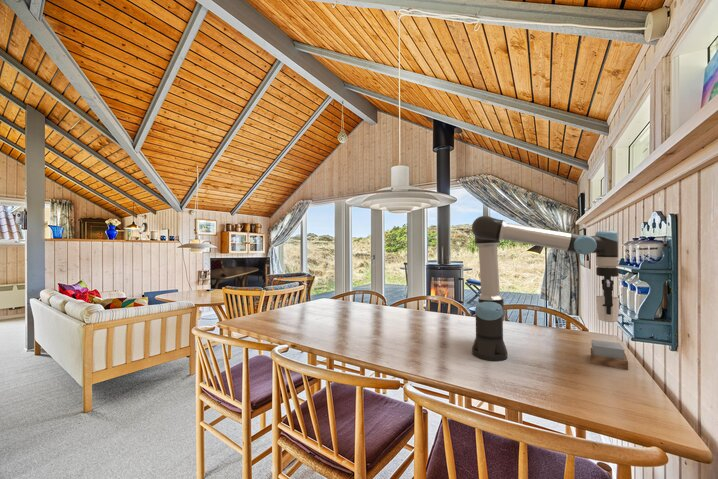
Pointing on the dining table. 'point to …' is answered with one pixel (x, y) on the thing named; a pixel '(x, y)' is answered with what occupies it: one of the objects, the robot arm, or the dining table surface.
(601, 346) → the slate top block
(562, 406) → the dining table surface
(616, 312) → the white cup
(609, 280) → the robot arm
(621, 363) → the walnut base block
